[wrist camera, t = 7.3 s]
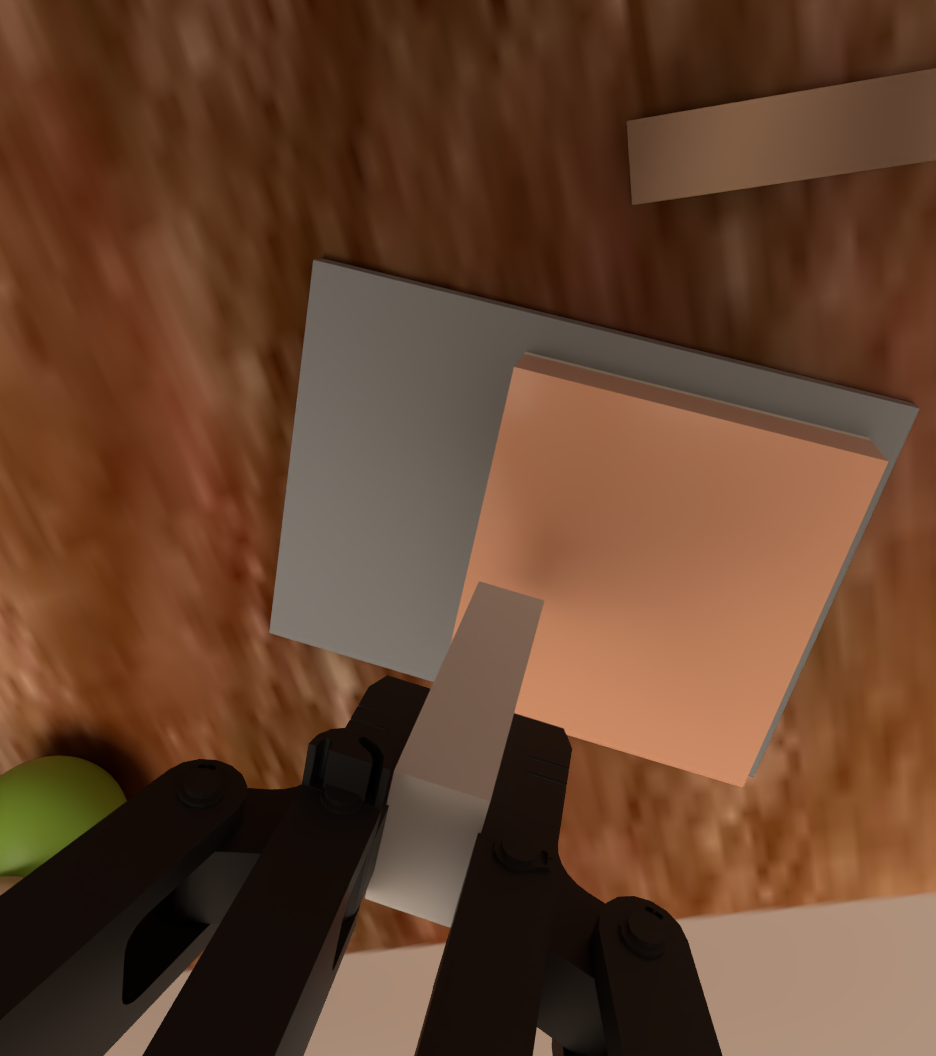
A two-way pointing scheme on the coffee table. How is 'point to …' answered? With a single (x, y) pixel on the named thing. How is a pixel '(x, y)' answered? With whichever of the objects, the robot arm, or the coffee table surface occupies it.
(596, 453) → the tile
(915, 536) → the coffee table surface
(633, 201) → the turner
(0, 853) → the snail figurine
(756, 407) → the mat
